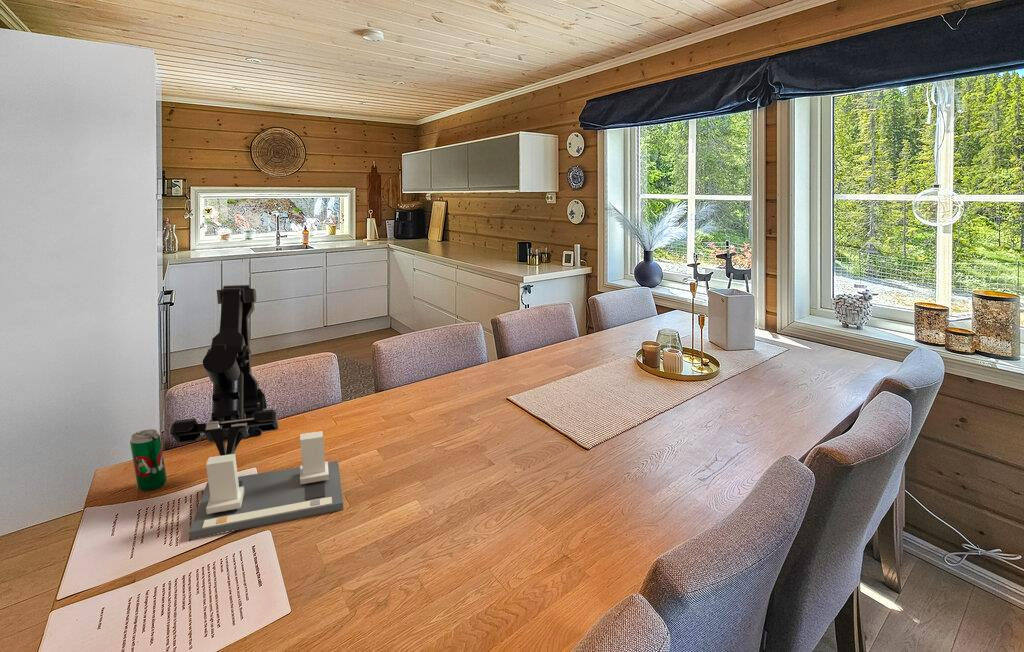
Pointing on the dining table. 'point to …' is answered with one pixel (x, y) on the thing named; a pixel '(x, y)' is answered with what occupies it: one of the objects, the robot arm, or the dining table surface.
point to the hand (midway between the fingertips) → (226, 465)
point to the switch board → (271, 501)
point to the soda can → (148, 460)
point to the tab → (313, 458)
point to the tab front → (223, 484)
